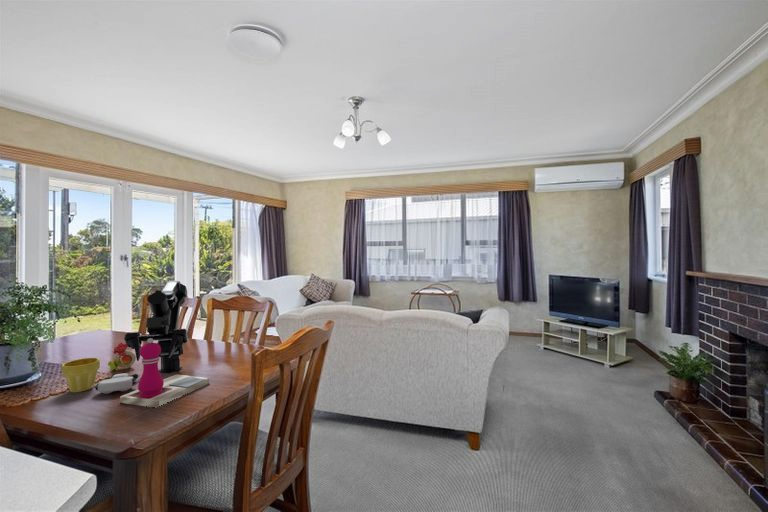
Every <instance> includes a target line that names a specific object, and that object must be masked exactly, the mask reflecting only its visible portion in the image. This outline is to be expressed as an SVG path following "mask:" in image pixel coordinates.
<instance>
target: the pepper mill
mask: <svg viewBox="0 0 768 512" xmlns="http://www.w3.org/2000/svg"><path fill="white" fill-rule="evenodd" d="M146 342H147V343H144V344H143V345H141V349H140V357H141V364H142V365H143V366H142V367H143V371H142V374H141V375H140V379H139V380H138V383H137V390H139V391H140V392H141V394H140V397H139V398H145V399H151V398H153V397H155V396H158V395H160V394H162V391H161V390H160V389H161V388H162V387H163V385H164V382H163V380H164V379H163V376H162V375H161V372H159V370H160V369H159V361H160V357H159V356H158V355H159V354H160V353H161V347H160V345H159V344H157V342H154V340H153V339H152V338H149V339H148V340H147V341H146Z"/></svg>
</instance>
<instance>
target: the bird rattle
mask: <svg viewBox="0 0 768 512" xmlns="http://www.w3.org/2000/svg"><path fill="white" fill-rule="evenodd" d="M127 348H128V347H127V344H126V343H122V342H119V343H118V345H117V346H115V347H114V348H113V354H114V355H115V357H114V358H113V360H111V361H109V362H108V363H107V366H108V367H109V370H110V371H118V372H119V367H120V368H128V369H131V367H132V366H133V365H134V363H135V362H136V361H137V359H136V354H135V352H133V351H132V350H128V349H127Z"/></svg>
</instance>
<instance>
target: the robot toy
mask: <svg viewBox="0 0 768 512" xmlns="http://www.w3.org/2000/svg"><path fill="white" fill-rule="evenodd" d="M139 377H141V375H140V374H139V373H133V374H131V375H130V374H129V373H117V374H114V375H112V377H111V376H110V377H107V376H106V377H104V379H102V380H101V381H100V382H98V383H97V384H96V385H94V386H92V388H91V389H93V388H94V389H95V390H96V392H98V393H103V394H104V395H107V394H112V393H113V392H118V391H119V392H127V391H128V390H130V389H131V388H132V387H134V386H135V385H136V384H137V383H139V380H137V379H138V378H139Z"/></svg>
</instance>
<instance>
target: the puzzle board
mask: <svg viewBox="0 0 768 512" xmlns="http://www.w3.org/2000/svg"><path fill="white" fill-rule="evenodd" d="M163 382H164V385H163V387H162V388H161V389H160V390H161V391H162V394H160V395H158V396H155V397H153V398H151V399H145V398H140V394H141V392H140V391H139V390H138V389H136V390H133V391H130V392H129V393H125V394H123V395H121V396H120V397H119V399H120V402H119V403H122V404H127V405H133V406H140V407H146V406H147V407H146V408H152V407H155V408H154V409H157V407H158V408H160V407H162V406H164V405H166V404H168V403H167V402H169V403H171V402H173V401H175V400H177V399H179V398H181V397H184V396H186V395H188V394H190V393H192V392H194V391H196V389H197V390H198V389H201V388H202V387H205V386H207V385H210V377H203V376H202V377H201V376H194V375H193V376H192V375H186V374H175V375H172V376H169V377H167V378H164V379H163ZM187 393H188V394H187ZM185 394H186V395H185ZM183 395H184V396H183ZM176 398H177V399H176ZM174 399H175V400H174ZM172 400H173V401H172ZM170 401H171V402H170ZM163 404H164V405H163ZM161 405H162V406H161ZM159 406H160V407H159Z"/></svg>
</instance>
